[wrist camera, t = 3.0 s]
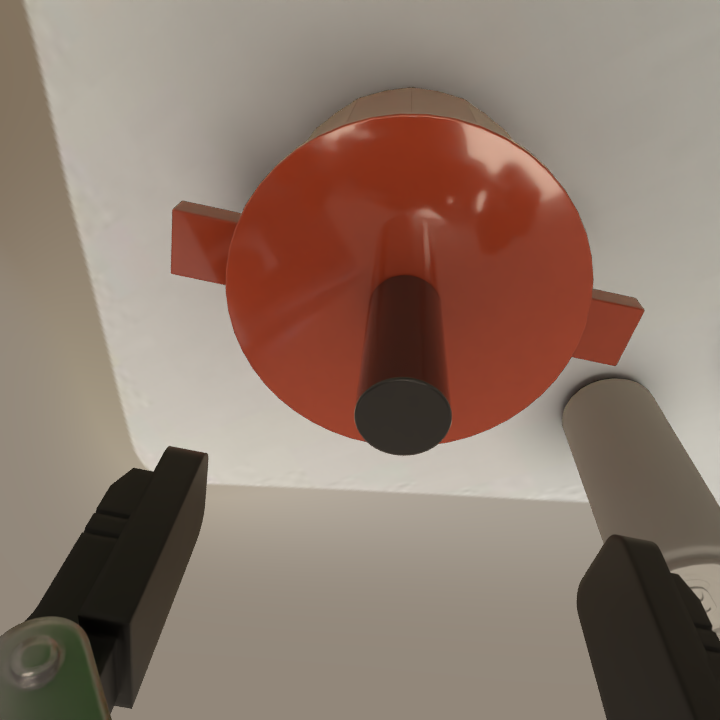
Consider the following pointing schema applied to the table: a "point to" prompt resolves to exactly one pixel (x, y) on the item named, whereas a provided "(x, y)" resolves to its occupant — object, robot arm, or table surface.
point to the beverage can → (645, 482)
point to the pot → (216, 226)
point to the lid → (409, 279)
